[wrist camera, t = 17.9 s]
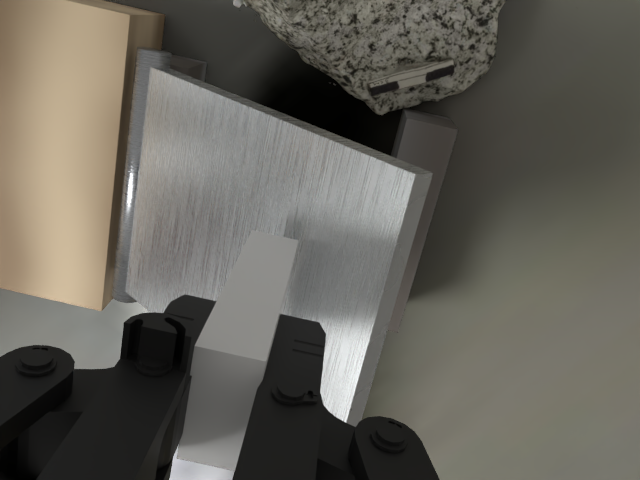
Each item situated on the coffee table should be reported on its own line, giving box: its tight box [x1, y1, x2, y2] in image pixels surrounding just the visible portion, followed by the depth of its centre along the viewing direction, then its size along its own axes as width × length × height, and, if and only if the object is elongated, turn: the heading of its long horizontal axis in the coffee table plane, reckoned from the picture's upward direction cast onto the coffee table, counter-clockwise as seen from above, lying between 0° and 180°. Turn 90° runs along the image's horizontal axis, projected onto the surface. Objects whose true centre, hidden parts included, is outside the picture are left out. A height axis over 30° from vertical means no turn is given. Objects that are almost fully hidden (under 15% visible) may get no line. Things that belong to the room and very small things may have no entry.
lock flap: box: [112, 47, 433, 427], centre depth 20 cm, size 1×10×13 cm
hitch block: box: [0, 0, 458, 333], centre depth 26 cm, size 30×12×4 cm, turn 78°
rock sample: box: [233, 0, 506, 115], centre depth 23 cm, size 10×8×9 cm
